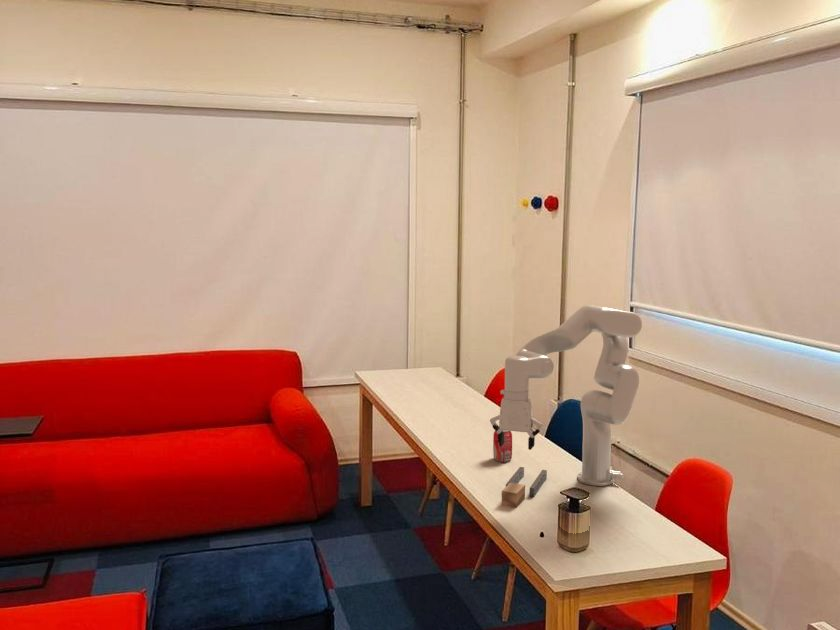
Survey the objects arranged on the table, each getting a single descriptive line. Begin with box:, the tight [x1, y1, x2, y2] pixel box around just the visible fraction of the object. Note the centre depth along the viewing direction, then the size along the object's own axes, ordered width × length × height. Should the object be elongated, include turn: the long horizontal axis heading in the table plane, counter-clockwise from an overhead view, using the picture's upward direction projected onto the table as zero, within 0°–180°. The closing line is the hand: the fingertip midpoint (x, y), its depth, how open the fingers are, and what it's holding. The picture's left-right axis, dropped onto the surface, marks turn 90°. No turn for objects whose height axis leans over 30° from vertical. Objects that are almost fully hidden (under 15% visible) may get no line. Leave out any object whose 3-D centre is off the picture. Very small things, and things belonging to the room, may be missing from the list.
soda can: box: [492, 430, 513, 463], centre depth 281 cm, size 7×7×12 cm
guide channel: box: [505, 466, 548, 498], centre depth 256 cm, size 10×18×3 cm, turn 157°
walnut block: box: [501, 483, 526, 509], centre depth 242 cm, size 5×8×5 cm, turn 153°
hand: (515, 446), depth 240 cm, fingers open, 9 cm apart
